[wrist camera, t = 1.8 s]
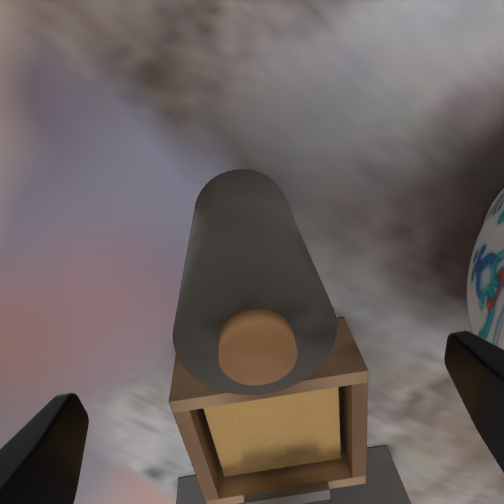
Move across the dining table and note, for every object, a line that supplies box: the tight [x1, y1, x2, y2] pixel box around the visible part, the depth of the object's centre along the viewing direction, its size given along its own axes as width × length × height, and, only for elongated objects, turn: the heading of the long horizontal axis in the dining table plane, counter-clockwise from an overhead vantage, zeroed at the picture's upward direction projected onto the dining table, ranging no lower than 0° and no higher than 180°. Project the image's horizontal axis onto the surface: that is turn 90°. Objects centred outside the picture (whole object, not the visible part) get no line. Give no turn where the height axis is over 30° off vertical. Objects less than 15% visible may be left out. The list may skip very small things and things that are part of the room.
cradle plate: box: [203, 387, 341, 477], centre depth 21 cm, size 7×7×1 cm
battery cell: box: [173, 170, 337, 395], centre depth 13 cm, size 4×4×9 cm
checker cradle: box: [169, 317, 368, 504], centre depth 21 cm, size 10×10×4 cm
